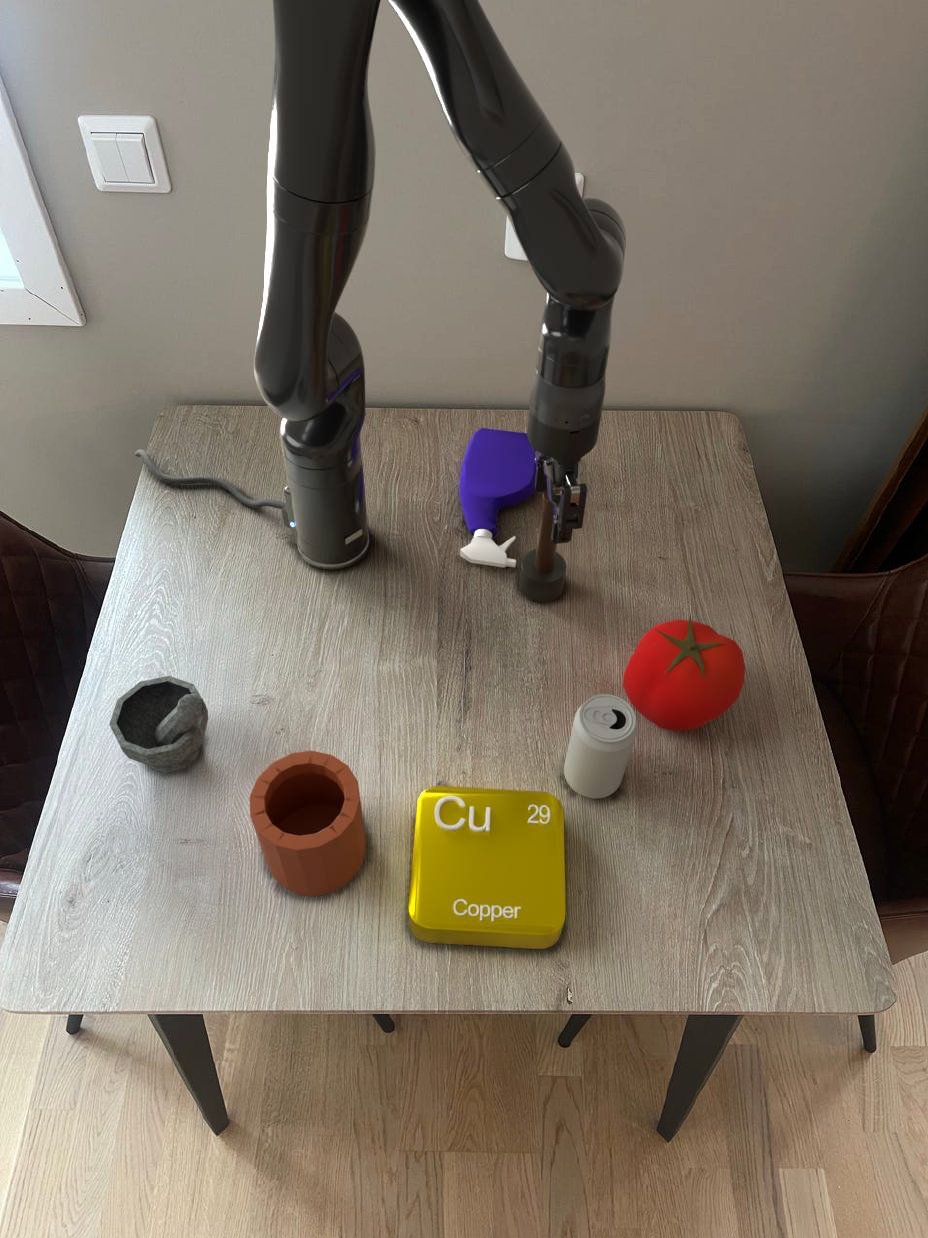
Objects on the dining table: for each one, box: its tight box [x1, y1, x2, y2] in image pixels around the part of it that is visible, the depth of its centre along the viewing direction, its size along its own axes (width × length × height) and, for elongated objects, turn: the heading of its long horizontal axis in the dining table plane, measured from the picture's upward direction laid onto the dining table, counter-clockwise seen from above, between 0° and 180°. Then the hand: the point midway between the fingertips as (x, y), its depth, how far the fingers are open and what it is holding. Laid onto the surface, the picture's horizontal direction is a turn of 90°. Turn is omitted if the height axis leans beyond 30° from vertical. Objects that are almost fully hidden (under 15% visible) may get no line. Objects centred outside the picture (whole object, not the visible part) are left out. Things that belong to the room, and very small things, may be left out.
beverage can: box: [563, 693, 638, 799], centre depth 97 cm, size 6×6×12 cm
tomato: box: [622, 612, 746, 732], centre depth 103 cm, size 12×13×12 cm
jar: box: [249, 750, 367, 897], centre depth 91 cm, size 10×10×11 cm
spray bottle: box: [458, 427, 536, 568], centre depth 127 cm, size 3×11×24 cm
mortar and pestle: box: [108, 675, 209, 774], centre depth 98 cm, size 11×9×12 cm
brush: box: [518, 487, 567, 604], centre depth 112 cm, size 6×6×16 cm
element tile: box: [407, 785, 567, 950], centre depth 92 cm, size 15×15×5 cm
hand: (552, 514), depth 108 cm, fingers open, 8 cm apart
